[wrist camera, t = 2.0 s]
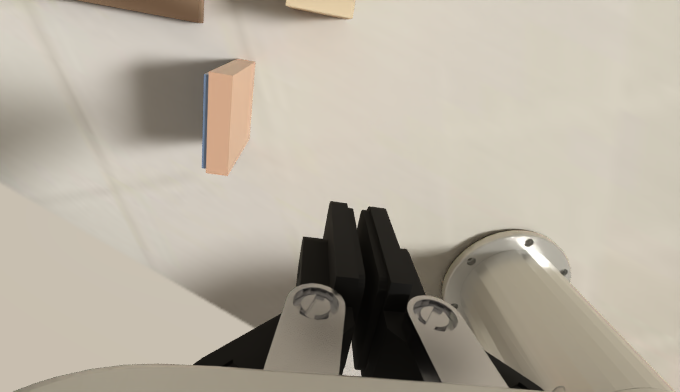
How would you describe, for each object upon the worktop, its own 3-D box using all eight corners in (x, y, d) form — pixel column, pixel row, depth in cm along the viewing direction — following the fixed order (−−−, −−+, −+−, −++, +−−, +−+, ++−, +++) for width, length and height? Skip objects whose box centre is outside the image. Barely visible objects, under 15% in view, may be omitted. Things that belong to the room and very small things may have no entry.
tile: (249, 138, 30) (227, 176, 23) (229, 135, 30) (201, 172, 23) (255, 61, 28) (233, 75, 20) (233, 57, 27) (203, 70, 20)
